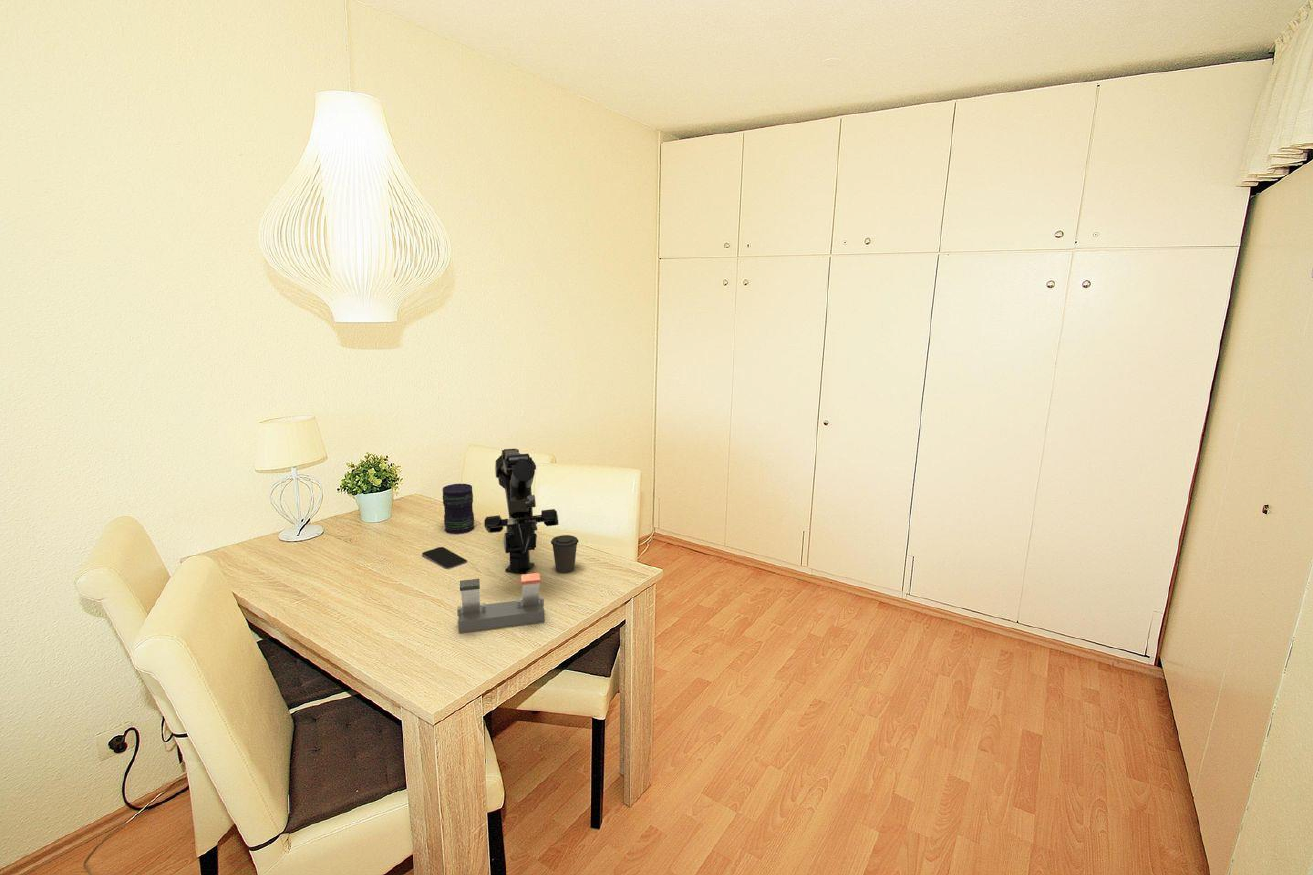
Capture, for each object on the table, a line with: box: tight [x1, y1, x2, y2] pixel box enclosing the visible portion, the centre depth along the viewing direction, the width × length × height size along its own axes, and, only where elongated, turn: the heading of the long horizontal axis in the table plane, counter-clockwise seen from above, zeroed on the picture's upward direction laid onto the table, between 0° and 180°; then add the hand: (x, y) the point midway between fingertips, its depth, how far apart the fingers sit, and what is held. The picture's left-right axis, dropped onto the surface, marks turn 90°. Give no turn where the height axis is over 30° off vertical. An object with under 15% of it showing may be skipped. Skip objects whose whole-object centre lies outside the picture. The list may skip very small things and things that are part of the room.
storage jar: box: [442, 483, 475, 535], centre depth 200 cm, size 10×10×15 cm
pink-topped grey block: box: [520, 572, 541, 606], centre depth 142 cm, size 2×4×9 cm, turn 107°
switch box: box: [456, 595, 545, 634], centre depth 143 cm, size 7×20×5 cm, turn 107°
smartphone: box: [421, 546, 468, 570], centre depth 178 cm, size 7×1×15 cm
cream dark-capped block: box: [459, 578, 481, 614], centre depth 139 cm, size 2×4×9 cm, turn 107°
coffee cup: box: [550, 534, 579, 574], centre depth 171 cm, size 8×8×10 cm
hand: (523, 552), depth 151 cm, fingers closed
